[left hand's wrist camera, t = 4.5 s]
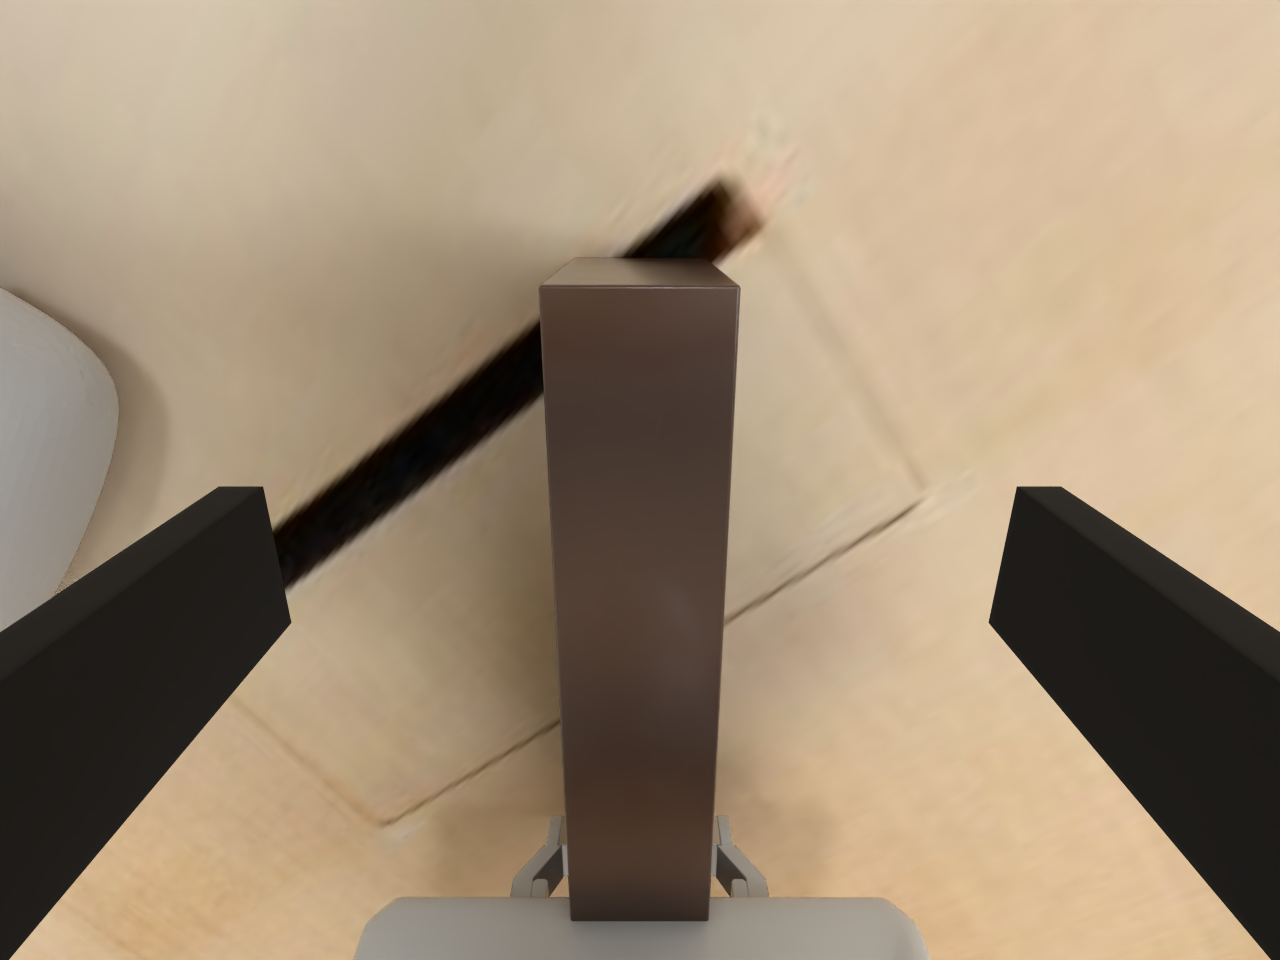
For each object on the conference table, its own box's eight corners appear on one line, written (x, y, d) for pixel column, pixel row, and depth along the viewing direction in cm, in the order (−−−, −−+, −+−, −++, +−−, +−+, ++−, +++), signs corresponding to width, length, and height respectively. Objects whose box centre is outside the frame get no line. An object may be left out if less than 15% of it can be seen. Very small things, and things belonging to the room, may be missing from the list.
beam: (573, 257, 27) (538, 284, 17) (705, 257, 27) (741, 284, 17) (591, 818, 37) (575, 1026, 27) (687, 818, 37) (703, 1026, 27)
